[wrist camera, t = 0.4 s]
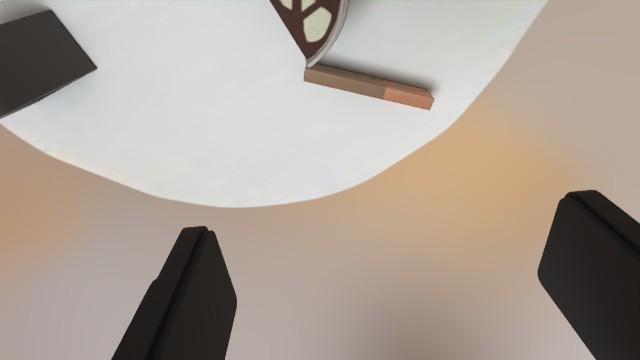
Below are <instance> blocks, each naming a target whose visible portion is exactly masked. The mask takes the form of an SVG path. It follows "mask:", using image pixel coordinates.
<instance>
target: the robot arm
mask: <svg viewBox="0 0 640 360" xmlns="http://www.w3.org/2000/svg"><path fill="white" fill-rule="evenodd" d="M538 278H539V281H540V282H541V284H542V286H543V287H544V289H545V290H546V291H547V293H548V294H549V295H550V297H551V298H552V300H553V301H554V302H555V304H556V305H557V306H558V308H559V309H560V311H561V312H562V313H563V315H564V316H565V317H566V319H567V320H568V322H569V323H570V324H571V326H572V327H573V329H574V330H575V331H576V333H577V334H578V335H579V337H580V338H581V340H582V341H583V342H584V344H585V345H586V346H587V348H588V349H589V351H590V352H591V354H592V355H593V356H594V358H595V359H596V360H640V223H638V222H637V221H636V220H634V219H633V218H632V217H630V216H629V215H628V214H627V213H625V212H624V211H623V210H622V209H620V208H619V207H618V206H616V205H615V204H614V203H613V202H611V201H610V200H608V199H607V198H606V197H605V196H604V195H602V194H601V193H600V192H598V191H596V190H586V191H575V192H569V193H567V194H566V195H565V197H564V198H563V199H561V200H560V201H559V204H558V207H557V210H556V213H555V216H554V220H553V223H552V226H551V229H550V232H549V236H548V239H547V242H546V245H545V248H544V252H543V255H542V259H541V261H540V264H539V268H538ZM236 308H237V298H236V294H235V291H234V288H233V285H232V282H231V279H230V276H229V273H228V270H227V267H226V264H225V261H224V258H223V255H222V252H221V250H220V247H219V244H218V241H217V238H216V235H215V233H214V231H212V230H211V231H209V230H208V229H207V227H206V226H198V227H187V228H183V230H182V231H181V233H180V235H179V237H178V238H177V240H176V242H175V244H174V246H173V248H172V250H171V252H170V254H169V256H168V258H167V260H166V262H165V264H164V266H163V268H162V270H161V272H160V274H159V276H158V278H157V279H155V280H154V281H153V282H152V283H151V285H150V286H149V289H148V290H147V292H146V294H145V296H144V298H143V300H142V302H141V304H140V305H139V307H138V309H137V311H136V313H135V315H134V317H133V319H132V321H131V323H130V325H129V327H128V329H127V331H126V333H125V334H124V336H123V338H122V340H121V342H120V344H119V346H118V348H117V350H116V352H115V353H114V355H113V357H112V359H111V360H225V356H226V351H227V347H228V343H229V339H230V334H231V330H232V326H233V321H234V317H235V312H236Z"/></svg>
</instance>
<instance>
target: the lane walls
mask: <svg viewBox="0 0 640 360" xmlns="http://www.w3.org/2000/svg"><path fill="white" fill-rule="evenodd" d="M304 81H306V82H310V83H314V84H319V85H323V86H327V87H331V88H336V89H340V90H344V91H349V92H353V93H357V94H362V95H366V96H370V97H375V98H379V99H383V100H387V101H392V102H396V103H400V104H405V105H409V106H413V107H418V108H422V109H426V110H430V109H431V106H432V104H433V102H434V98H433V97H432V96H431V95H430V93H429V92H428V91H427V90H425V89H421V88H416V87H412V86H408V85H404V84H400V83H396V82H392V81H387V80H383V79H379V78H375V77H371V76H367V75H362V74H358V73H354V72H350V71H346V70H342V69H337V68H333V67H329V66H325V65H321V64H317V63H315V64H314V65H312V66H311V67H307V66H306V68H305V72H304Z"/></svg>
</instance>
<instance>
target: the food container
mask: <svg viewBox="0 0 640 360" xmlns="http://www.w3.org/2000/svg"><path fill="white" fill-rule="evenodd" d="M349 1H350V0H270V2H271V3H272V5H273V6H274V8H275V10H276V11H277V13H278V14H279V16H280V18H281V19H282V21H283V22H284V24H285V26H286V27H287V29H288V31H289V32H290V34H291V35H292V37H293V39H294V40H295V42H296V43H297V45H298V47H299V48H300V50H301V51H302V53H303V54H304V56H305V58H306V66H307V67H311V66H312V65H314V64H315V63H316V62H317V61H319V60H320V59H321V58H322V57H323V56H324V55H325V54H326V53H327V52H328V51H329V50H330V48H331V47H332V45H333V44H334V42H335V41H336V40H337V38H338V36H339V34H340V32H341V30H342V28H343V25H344V22H345V19H346V16H347V12H348V6H349Z"/></svg>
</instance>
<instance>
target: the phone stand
mask: <svg viewBox="0 0 640 360" xmlns="http://www.w3.org/2000/svg"><path fill="white" fill-rule="evenodd" d="M94 70H96V68H95V67H94V66H93V64H92V63H91V62H90V61H89V59H88V58H87V57H86V55H85V54H84V53H83V52H82V50H81V49H80V48H79V47H78V45H77V44H76V43H75V41H74V40H73V39H72V38H71V36H70V35H69V34H68V33H67V31H66V30H65V29H64V27H63V26H62V25H61V24H60V22H59V21H58V20H57V19H56V17H55V16H54V15H53V13H52V12H51V11H50V10H48V11H45V12H41V13H38V14H35V15H31V16H28V17H25V18H21V19H18V20H15V21H11V22H8V23H4V24H1V25H0V119H1V118H4V117H6V116H8V115H10V114H12V113H15V112H17V111H19V110H21V109H24V108H26V107H28V106H30V105H32V104H34V103H36V102H38V101H40V100H42V99H43V98H45V97H47V96H49V95H51V94H52V93H54V92H56V91H58V90H60V89H61V88H63V87H65V86H67V85H69V84H71V83H72V82H74V81H76V80H78V79H80V78H81V77H83V76H85V75H87V74H89V73H90V72H92V71H94Z"/></svg>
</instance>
